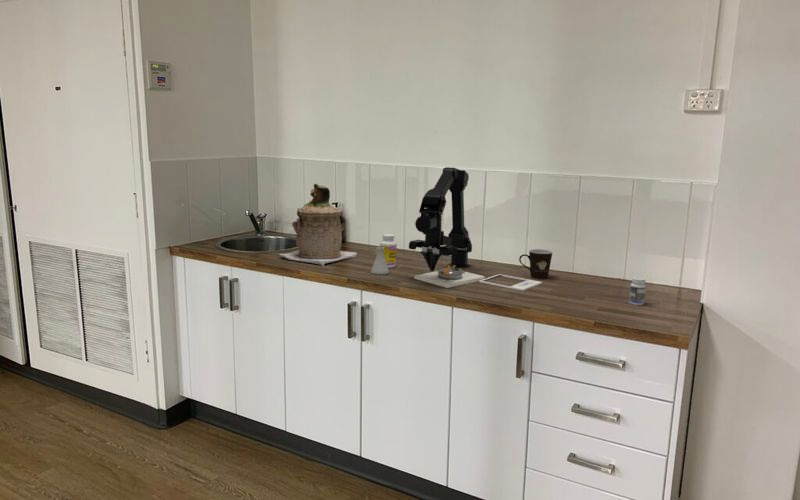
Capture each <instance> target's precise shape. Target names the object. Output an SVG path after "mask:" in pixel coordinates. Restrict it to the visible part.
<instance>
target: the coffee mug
mask: <svg viewBox="0 0 800 500" xmlns="http://www.w3.org/2000/svg"><path fill="white" fill-rule="evenodd" d="M553 253H554V252H553V251H552V250H550V249H549V250H548V249H542V248H537V249H536V248H535V249H534V248H533V249H530V250H529V255H528V254H522V255H520V256H519V258H518V261H519V263H520V264H521V265H522V266H523V267H524V268H525V269H527V270H528V271H529V272H530V273H529V274H530V278H531V279H533V280H534V279H535V280H547V279H548V278H549V273H550V270H551V269H550V267H551V262H552V257H553ZM522 257H527V259H528V260H529V267H528V266H527V265H525V264H524V263H523V262H522Z"/></svg>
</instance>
